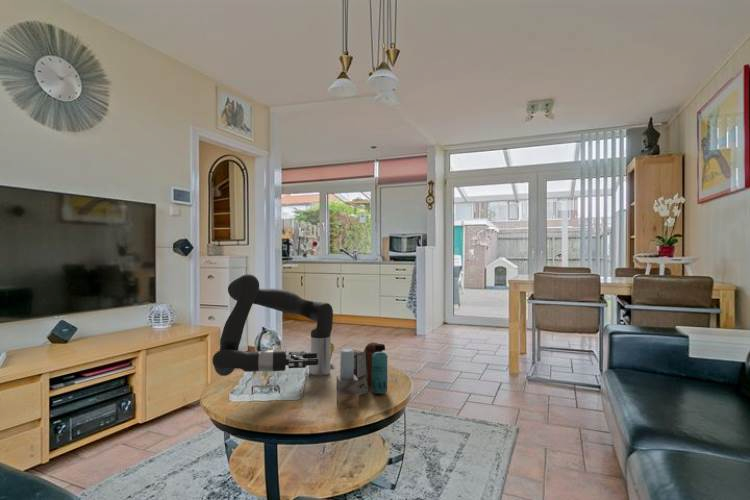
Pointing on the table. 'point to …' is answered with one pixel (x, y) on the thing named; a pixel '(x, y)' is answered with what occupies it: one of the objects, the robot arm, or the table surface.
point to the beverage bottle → (379, 370)
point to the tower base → (347, 400)
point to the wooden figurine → (370, 359)
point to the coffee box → (361, 370)
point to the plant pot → (331, 350)
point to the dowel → (347, 364)
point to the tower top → (347, 386)
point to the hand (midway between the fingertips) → (317, 358)
